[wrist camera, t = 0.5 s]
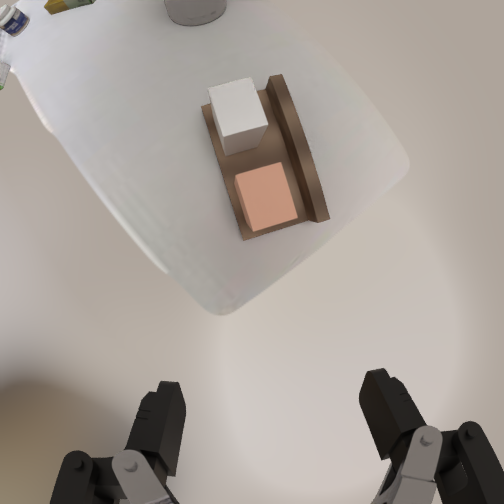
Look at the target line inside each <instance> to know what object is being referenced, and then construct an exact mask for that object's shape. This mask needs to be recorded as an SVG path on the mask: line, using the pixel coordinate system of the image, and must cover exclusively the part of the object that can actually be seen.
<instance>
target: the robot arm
mask: <svg viewBox="0 0 504 504" xmlns="http://www.w3.org/2000/svg"><path fill="white" fill-rule="evenodd" d="M164 2H165V5H166V8H167V11H168V14H169V17H170V18H171V20H173V21H174V22H176V23H178V24H181V25H189V26H193V25H201V24H205V23H208V22H211V21H213V20H215V19H216V18H218V17H219V16H220V15H221V14H222V13H223V12H224V10H225V8H226V0H164ZM359 403H360V406H361V409H362V411H363V414H364V416H365V419H366V421H367V424H368V426H369V429H370V431H371V434H372V437H373V439H374V442H375V445H376V447H377V450H378V452H379V455H380V458H381V460H385V459H388V458H390V459H391V464H390V466H389V468H388V471H387V473H386V475H385V478H384V480H383V482H382V485H381V486H380V489H379V491H378V493H377V495H376V497H375V499H374V500H373V502H372V503H371V504H431V503H432V500H433V497H434V494H435V491H436V487H437V488H438V491H439V494H440V497H441V500H442V503H443V504H504V471H503V469H502V467H501V465H500V463H499V460H498V459H497V456H496V454H495V452H494V450H493V448H492V446H491V445H490V443H489V441H488V439H487V437H486V435H485V433H484V432H483V430H482V428H481V427H480V425H479V424H477V423H476V422H472V421H468V422H465V423H463V424H462V425H461V426H460V427H459V429H458V430H453V431H443V432H440V431H439V430H438V429H437V428H435V427H432V426H428V425H427V424H426V423H425V421H424V419H423V417H422V416H421V414H420V412H419V410H418V409H417V407H416V405H415V403H414V402H413V400H412V398H411V396H410V395H409V394H408V391H407V389H406V388H405V386H404V384H403V383H402V382H401V381H399V380H398V379H396V378H395V377H392V378H390V376H389V374H388V373H387V371H386V370H385V369H384V368H381V369H376V370H371V371H367V373H366V375H365V378H364V382H363V384H362V387H361V390H360V393H359ZM185 417H186V405H185V401H184V398H183V394H182V391H181V388H180V385H179V383H178V382H169V381H161V382H160V383H159V386H158V389H157V392H149V393H148V394H147V395H146V396H145V397H144V398H143V399H142V400H141V403H140V407H139V411H138V412H137V415H136V419H135V421H134V423H133V426H132V429H131V432H130V436H129V439H128V442H127V445H126V447H125V449H124V450H123V451H121V452H119V453H117V454H116V455H115V456H114V457H108V458H91V457H90V456H89V455H88V454H86V453H85V452H83V451H72V452H70V453H68V454H67V455H66V456H65V457H64V459H63V462H62V465H61V468H60V471H59V474H58V477H57V480H56V484H55V487H54V490H53V493H52V497H51V500H50V504H119V502H120V499H128V500H129V502H130V504H179V502H178V501H177V500H176V498H175V497H174V495H173V494H172V492H171V491H170V490H169V488H168V487H167V485H166V480H167V476H175V475H176V468H177V462H178V456H179V450H180V445H181V439H182V434H183V428H184V423H185ZM461 463H462V464H461ZM462 465H463V466H462ZM464 470H465V471H464ZM466 475H467V476H466ZM433 478H434V480H435V481H433Z"/></svg>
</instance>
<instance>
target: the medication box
mask: <svg viewBox="0 0 504 504" xmlns="http://www.w3.org/2000/svg"><path fill="white" fill-rule="evenodd" d="M95 1H96V0H48V2H47V3H46V4H45V6H44V8H45V9H46V10H47V11H48V12H49V13H50V14H51V15H52V14H55V13H59V12H62V11H65V10H69V9H73V8H76V7H80V6H85V5H89V4H93V3H94V2H95Z"/></svg>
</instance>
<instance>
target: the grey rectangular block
mask: <svg viewBox="0 0 504 504" xmlns="http://www.w3.org/2000/svg"><path fill="white" fill-rule="evenodd" d="M208 93H209V98H210V103H211V108H212V113H213V118H214V122H215V125H216V128H217V131H218V134H219V138H220V141H221V144H222V147H223V150H224V153H225V156H229V155H232V154H235V153H239V152H242V151H245V150H249V149H253V148H256V147H258V145H259V143H260V141H261V139H262V137H263V135H264V133H265V130H266V128H267V126H268V122H267V119H266V116H265V113H264V110H263V108H262V105H261V102H260V99H259V97H258V94H257V91H256V89H255V86H254V83H253V81H252V78H251V77H249V78H244V79H240V80H236V81H232V82H228V83H224V84H221V85H217V86H213V87H210V88H208Z"/></svg>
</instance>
